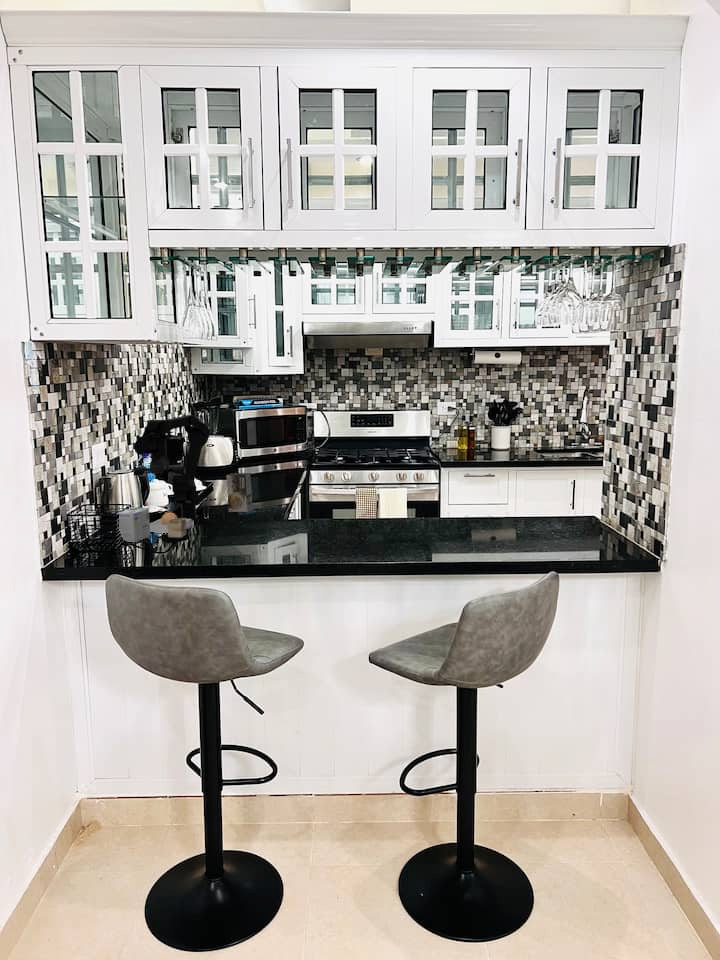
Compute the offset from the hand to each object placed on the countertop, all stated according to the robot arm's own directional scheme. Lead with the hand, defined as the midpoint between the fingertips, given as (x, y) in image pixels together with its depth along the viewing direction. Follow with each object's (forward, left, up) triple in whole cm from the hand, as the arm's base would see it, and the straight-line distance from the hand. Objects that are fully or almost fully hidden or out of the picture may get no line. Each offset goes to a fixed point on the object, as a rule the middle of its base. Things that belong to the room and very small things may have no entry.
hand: (161, 492), depth 275 cm
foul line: (+15, +6, -13) cm, 20 cm away
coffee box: (-33, +21, -13) cm, 41 cm away
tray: (+7, +6, -13) cm, 16 cm away
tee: (+18, +13, -13) cm, 26 cm away
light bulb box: (+25, 0, -13) cm, 28 cm away
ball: (+8, +6, -9) cm, 13 cm away
